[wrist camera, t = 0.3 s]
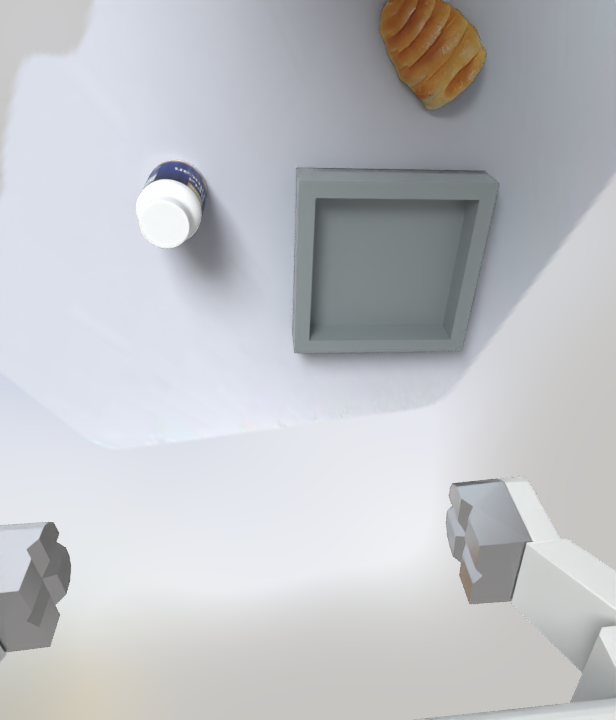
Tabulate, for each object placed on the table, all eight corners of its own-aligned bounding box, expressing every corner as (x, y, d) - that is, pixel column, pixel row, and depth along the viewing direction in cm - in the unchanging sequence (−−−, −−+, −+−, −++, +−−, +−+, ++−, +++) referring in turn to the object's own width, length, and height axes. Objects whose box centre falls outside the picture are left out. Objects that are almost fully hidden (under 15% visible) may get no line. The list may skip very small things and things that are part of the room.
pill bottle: (218, 181, 53) (212, 218, 45) (188, 226, 56) (177, 269, 48) (166, 145, 51) (150, 178, 43) (138, 193, 54) (117, 233, 45)
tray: (296, 167, 53) (299, 180, 50) (484, 170, 55) (499, 183, 51) (292, 333, 63) (294, 353, 60) (451, 331, 65) (461, 351, 62)
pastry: (356, 35, 48) (364, 39, 45) (416, -39, 45) (428, -40, 42) (430, 113, 52) (442, 122, 49) (488, 49, 49) (505, 54, 46)
